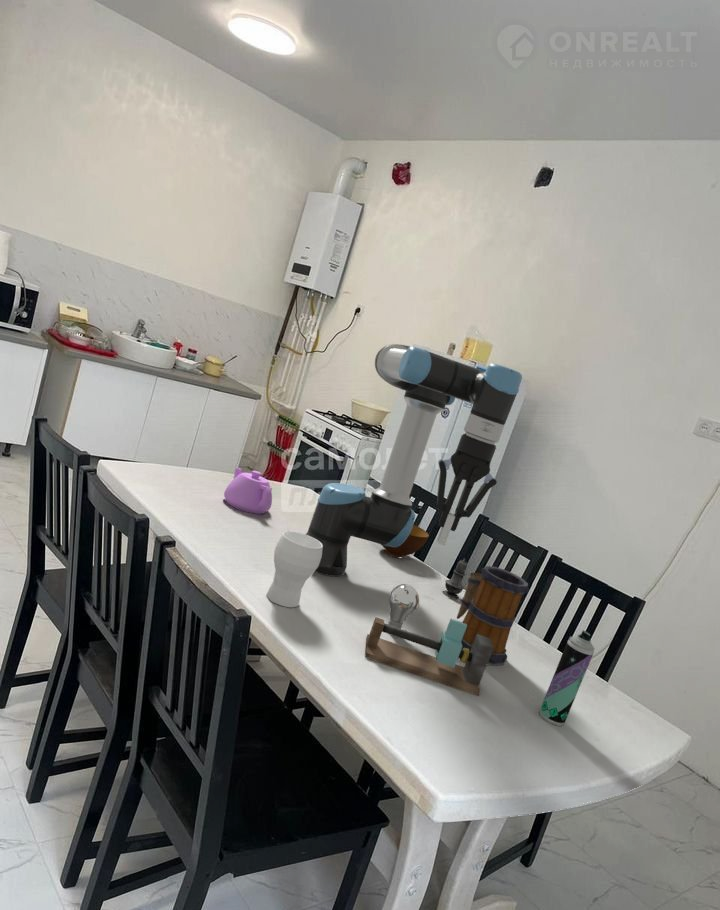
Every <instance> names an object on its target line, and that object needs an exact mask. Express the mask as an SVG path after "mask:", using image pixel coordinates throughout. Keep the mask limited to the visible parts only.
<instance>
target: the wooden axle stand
mask: <svg viewBox="0 0 720 910" xmlns="http://www.w3.org/2000/svg"><path fill="white" fill-rule="evenodd" d="M382 633H385V634H388V635H391V636H394V637H397V638H399V639H403V640H405V641H409V642H412V643H415V644H417V645H420V646H423V647H426V648H429V649H432V650H435V651H436V650H438V651H440V648H441V646H442V643H441V642H439V641H438V640H435V639H433V638H432V639H431V638H429V637H425V636H423V635H421V634H418V633H415V632H411V631H408V630H405V629H402V628H401V629H400V628H397V627H394V626H391V625H388V623H386V622H385V619H383V618H380V617H377V616H375V618H374V620H373V623H372V626H371V629H370V632H369V634H368V633H367V635H366V637H365V649H364V658H365V659H368V660H371V661H375V662H376V663H377V662H378V663H381V664H384V665H387V666H390V667H393V668H395V669H398V670H401V671H404V672H407V673H410V674H414V675H416V676H419V677H421V678H424V679H427V680H431V681H433V682H436V683H439V684H443V685H446V686H449V687H451V688H454V689H457V690H459V691H463V692H466V693H469V694H471V695H474V696H477V697H479V696H480V693H481V690H480V687H479V686H480V684H481V681H482V679H483V676H484V674H485V671H486V668H487V666H488V665H487V663H488V661H489V658H490V656H491V653H492V651H493V645H492V642H491V640H490V638H487V637H485V636H482V635H479V634H477V635H476V638H475V640H474V643H473V645H472V648H471V650H470V652H469V649H467V648H463V649H462V650H461V651H460V654H459V657H458V659H459V662H461V663H464V666H463V665H460V664H457V663H456V664H455V667H451V666H448V665H445V664H442V663H439V662H436V657H435V656H433V655H431V654H427V653H425V652H421V651H418V650H416V649H412V648H409V647H407V646H404V645H400V644H398V643H396V642H393V641H391V640H390V641H389V640H387V639H383V638H381V635H382Z"/></svg>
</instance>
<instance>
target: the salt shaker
mask: <svg viewBox="0 0 720 910" xmlns="http://www.w3.org/2000/svg"><path fill="white" fill-rule="evenodd" d="M467 567H468V563H467V562H466V558H463V559H461V560H458V561H457V565H456V567H455V569H453V574H452V577H451V578H450V579H445V584H444V585H445V586H444V587H445V590H442V591H441V592H442V594H443V595H444V596H446V597H448V598H450V599H453V600H460V596H459V594H460V593H462V592H463V590H465V587H464V586H463V585H462V581H463V579H464V576H466V570H467Z"/></svg>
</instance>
